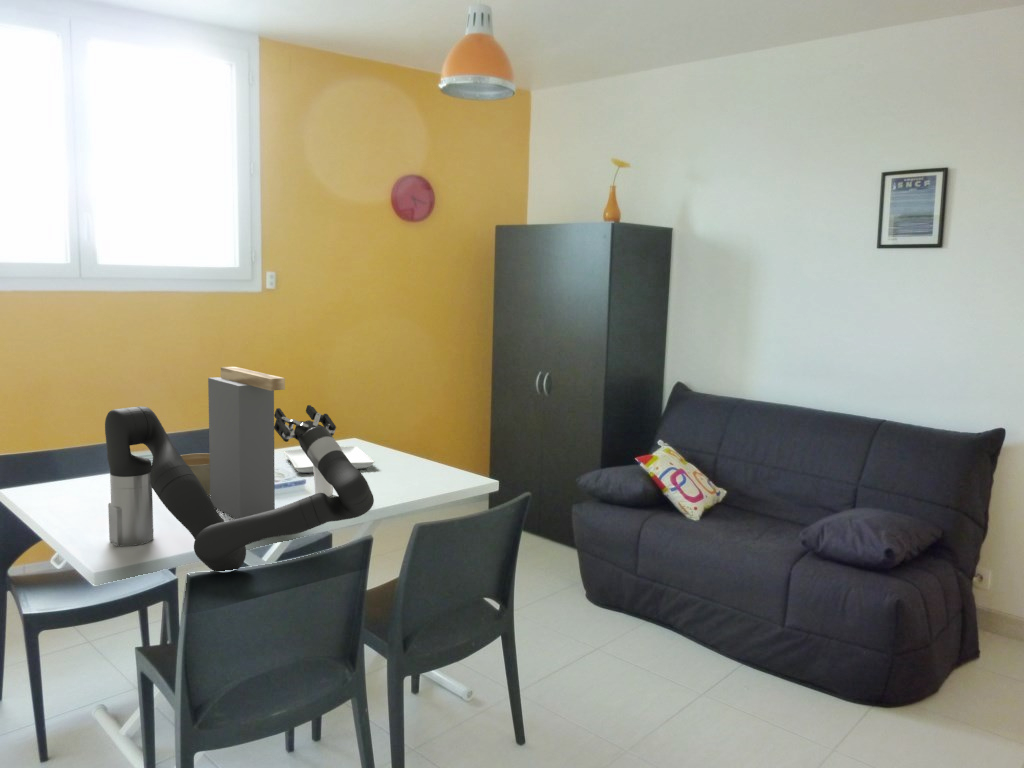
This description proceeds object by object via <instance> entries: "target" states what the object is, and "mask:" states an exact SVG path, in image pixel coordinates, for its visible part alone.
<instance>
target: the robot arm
mask: <svg viewBox="0 0 1024 768" xmlns="http://www.w3.org/2000/svg"><path fill="white" fill-rule="evenodd" d="M305 413H306V414H307V415H308V417H309V418H310V419H311V420H310V419H309V420H305V421H303V420H301V421H298V420H297V419H295V418H292V419H290V418H288V417H287V416H286V415H285V413H284V412H283V410H282V409H281V408H279V407H278V408H276V410H274V419H275V421H274V431H276V433H277V434H278V436H280V438H281V439H282V440H283V442H286V443H287V442H289V440H290V439H294V440H297V442H298V444H299V446H300V449H302V450H303V451H304V452H305V454H306V455H307V457H308V458H309V459H310V461H311V462H312V464H313V465H314V466H315V467H316V468H317V469H318V470H319V471H320V473H321V474H322V476H323V477H324V478H325V480H326V481H327V482H328V483H329V484H330V485H332V486H333V490H334V491H335V492H336V494H337V495H336V496H329V497H328V496H327V495H326V494H324V493H317V494H315V493H314V494H312V495H310V496H307V497H304V498H302V499H298V500H297V501H294V502H292V503H289V504H285V505H283V506H280V507H275V509H273V510H270V511H266V512H263V513H259V514H255V515H251V516H247V517H243V518H239V519H235V518H234V519H231V520H230V519H229V520H226V521H225V520H224V519H223V517H222V516H221V515H220V514H219V512H218V511H217V510H218V509H216V508H215V507H214V505H213V503H212V501H211V499H210V495H209V496H208V494H207V493H206V491H205V489H204V488H203V486H202V485H201V483H200V481H199V480H198V478H197V477H196V476H195V474H194V473H193V471H192V470H191V469H190V467H189V466H188V465H187V464H186V463H185V461H184V460H183V458H182V457H181V456H180V455H181V454H180V453H179V451H178V450H177V448H176V447H175V445H174V444H173V443H172V441H171V439H170V438H169V436H168V434H167V432H166V430H165V428H164V427H163V425H162V423H161V420H160V419H159V418H158V416H157V415H156V413H155V412H154V411H153V409H151V408H150V407H148V406H139V405H138V406H131V407H130V406H129V407H122V408H121V407H120V408H115V409H114V408H113V409H111V410H110V411H108V413H107V415H106V417H105V420H104V434H105V435H104V436H105V443H106V456H107V458H106V459H107V461H108V465H109V476H110V477H109V479H110V480H109V481H110V482H109V483H110V502H108V504H107V507H108V529H109V530H108V533H109V536H108V537H109V541H110V542H111V543H113V545H115V546H116V547H123V546H125V547H126V546H137V545H138V546H139V545H143V544H146V543H149V542H151V541H152V540H153V539H154V508H153V507H154V505H153V491H154V493H155V495H156V496H157V498H159V500H160V501H161V502H162V504H163V505H164V506H165V508H166V509H167V510H168V512H169V513H171V515H173V517H174V518H175V519H176V520H177V521H178V522H179V523H180V524H182V526H183V527H184V528H185V529H186V530H187V531H188V532H189V534H190V535H191V536H192V537H193V539H194V543H193V550H194V551H193V552H194V553H195V555H196V556H197V558H198V559H199V560H200V561H201V562H202V563H203V564H204V565H205V566H206V567H207V568H209V569H210V570H211V571H213V572H215V571H225V570H233V569H238V570H239V569H240V568H241V567H242V566H243V564H244V562H245V560H246V556H247V547H246V546H248V545H250V544H252V543H256V542H258V541H261V540H266V539H271V538H276V537H277V538H278V537H283V536H284V537H285V536H291V535H296V534H300V533H305V532H306V531H309V530H311V529H314V528H317V527H320V526H322V525H324V524H326V523H330V522H338V521H345V520H351V519H355V518H358V517H361V516H363V515H366V514H367V513H368V512H369V511H370V510H371V509H372V507H373V506H374V503H375V502H374V501H375V499H374V494H373V492H372V490H371V488H370V485H369V482H368V481H367V479H366V478H365V476H364V475H363V473H362V472H360V471H359V469H356V468H355V467H354V466H353V465H352V464H351V462H350V461H349V460H348V458H347V457H346V456H345V454H344V453H343V451H342V449H341V447H342V446H340V445H339V443H338V442H337V441H336V439H335V437H333V436H334V435H335V432H336V429H337V426H336V424H335V423H334V421H333V419H331V417H330V416H329V414H328V413H323V414H321V413H320V412H318V411H317V409H316V408H315V407H313V406H312V405H311V404H308V405H307V406H306V409H305ZM286 423H287V424H286ZM319 423H321V424H319ZM294 426H295V428H294ZM137 445H145V446H146V447H147V448H148V449H149V451H150V453H151V455H152V460H151V459H149V458H147V457H143V456H137V455H134V454H133V453H132V451H131V446H137Z"/></svg>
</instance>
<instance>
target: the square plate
mask: <svg viewBox="0 0 1024 768" xmlns="http://www.w3.org/2000/svg"><path fill="white" fill-rule="evenodd" d="M340 447H341V449H342V451H343V453H344V454H345V456H346V457H347V458H348V460H349V461H350V462H351V464H352V465H353V466H354V467H355V468H356V469H357V470H360V469H367V468H370V467H371V466H372V465H373V464H374V463H375V460H373V459H372V457H370V456H369V455H368V454H366V452H364V451H363V450H362V449H360V448H359V447H358V446H357V445H356V446H355V445H353V446H351V445H350V446H349V445H347V446H340ZM282 452H283V454H284V455H285V456H286V457H287V459H288V460H289V461H290V463H291V465H292V466H293V468H294V469H295V470H296V471H297V472H298V473H303V474H306V473H307V474H309V473H313V474H314V471H313V464H312V462H311V461H310V459H309V458H308V457H307V455H306V454H305V452H304V451H303V450H302V448H299V449H298V448H297V449H289V450H288V449H287V450H283V451H282Z"/></svg>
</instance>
